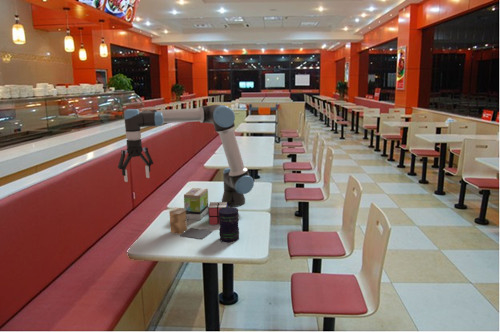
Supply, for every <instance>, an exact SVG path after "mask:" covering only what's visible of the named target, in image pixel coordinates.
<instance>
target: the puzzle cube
mask: <svg viewBox="0 0 500 332" xmlns="http://www.w3.org/2000/svg"><path fill="white" fill-rule="evenodd" d="M225 207H229V206H228V202H222V201H219V202H217V201H215V202H213V201H211V202H210V201H209V204H208V225H210V226H215V225H217V226H220V222H219V209H221V208H225Z"/></svg>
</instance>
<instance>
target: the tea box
mask: <svg viewBox="0 0 500 332" xmlns="http://www.w3.org/2000/svg"><path fill="white" fill-rule="evenodd" d="M183 205H184V206H183V208H185V209H186V220H190V221H201V220H202V219H203V218H204V217H205V216H206V215H207V213H208V214H209V210H208V208H209V189H208V188H201V187H200V188H197V187H192V188H191V189H190V190H188V191H187V192H186V193H184V194H183Z"/></svg>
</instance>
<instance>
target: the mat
mask: <svg viewBox="0 0 500 332" xmlns="http://www.w3.org/2000/svg"><path fill="white" fill-rule="evenodd" d="M212 232H213V230H210V229H209V230H208V229H201V228H195V227H189V229H187V230H186V231H185V232H183V233H182V234H179V237H183V238H190V239H196V240H203V239H205V238H206V237H208V236H209V235H211V233H212Z"/></svg>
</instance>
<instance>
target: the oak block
mask: <svg viewBox="0 0 500 332" xmlns="http://www.w3.org/2000/svg"><path fill="white" fill-rule="evenodd" d="M168 213H169V224H170V233H171V234H176V233H177V235H181V234H183V233H184V231H187V230H188V229H187V228H188V227H187V226H188V225H187V219H186V209H185V208H184V207H173V208H172V209H170V210H169V212H168Z"/></svg>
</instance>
